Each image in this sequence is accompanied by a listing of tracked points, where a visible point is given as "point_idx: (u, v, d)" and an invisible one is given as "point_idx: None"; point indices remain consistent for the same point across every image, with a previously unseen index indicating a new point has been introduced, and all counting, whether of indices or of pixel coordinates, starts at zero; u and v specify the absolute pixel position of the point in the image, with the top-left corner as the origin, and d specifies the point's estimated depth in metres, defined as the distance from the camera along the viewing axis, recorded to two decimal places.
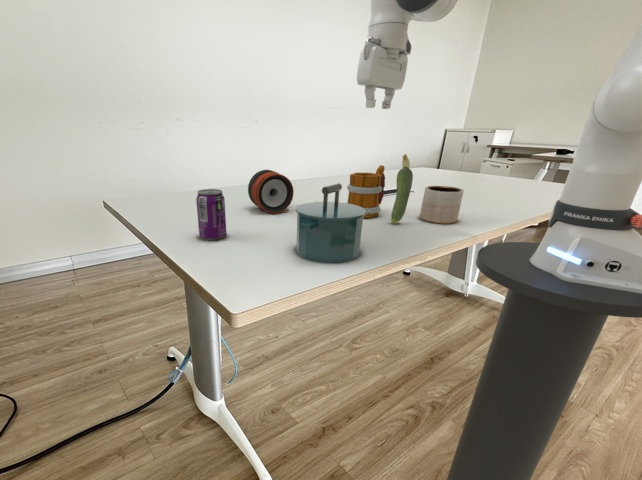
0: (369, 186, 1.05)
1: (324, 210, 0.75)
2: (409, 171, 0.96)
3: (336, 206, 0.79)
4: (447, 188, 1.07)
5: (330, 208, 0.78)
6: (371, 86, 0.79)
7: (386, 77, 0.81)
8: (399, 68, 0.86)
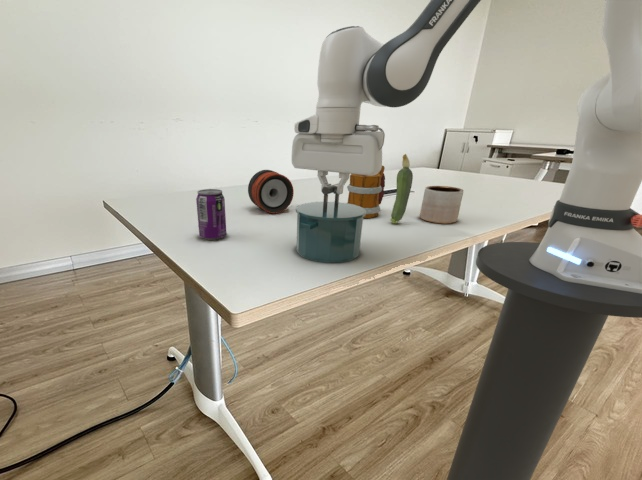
0: (369, 186, 1.05)
1: (324, 210, 0.75)
2: (409, 171, 0.96)
3: (336, 206, 0.79)
4: (447, 188, 1.07)
5: (330, 208, 0.78)
6: None
7: None
8: None
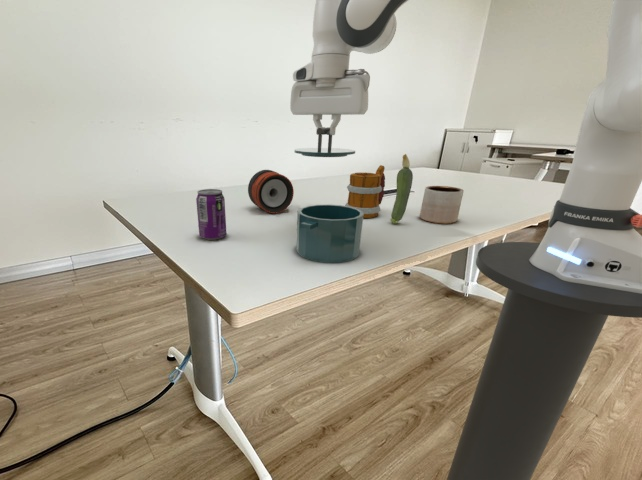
0: (369, 186, 1.05)
1: (319, 149, 0.86)
2: (409, 171, 0.96)
3: (329, 148, 0.90)
4: (447, 188, 1.07)
5: None
6: (339, 115, 0.83)
7: None
8: None
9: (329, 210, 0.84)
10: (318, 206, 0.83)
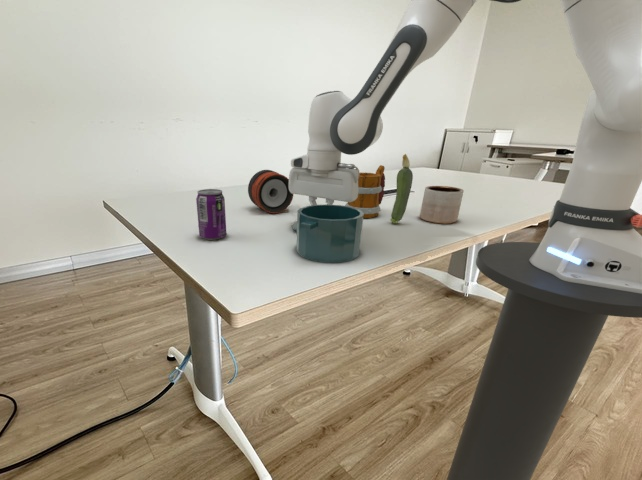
0: (369, 186, 1.05)
1: None
2: (409, 171, 0.96)
3: None
4: (447, 188, 1.07)
5: None
6: None
7: None
8: None
9: (329, 210, 0.84)
10: (318, 206, 0.83)
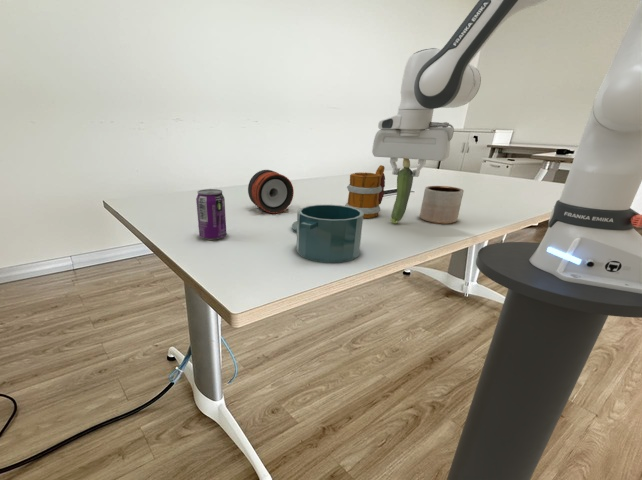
0: (369, 186, 1.05)
1: None
2: (409, 171, 0.95)
3: None
4: (447, 188, 1.07)
5: None
6: (425, 160, 0.93)
7: None
8: None
9: (329, 210, 0.84)
10: (318, 206, 0.83)
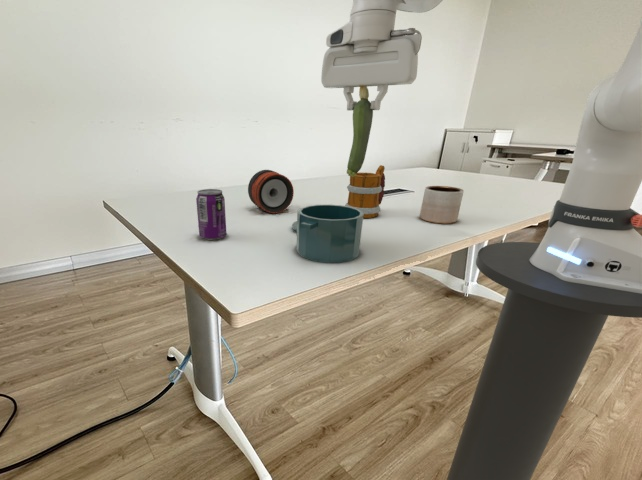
0: (369, 186, 1.05)
1: None
2: (368, 103, 0.73)
3: None
4: (447, 188, 1.07)
5: None
6: (387, 86, 0.71)
7: None
8: None
9: (329, 210, 0.84)
10: (318, 206, 0.83)
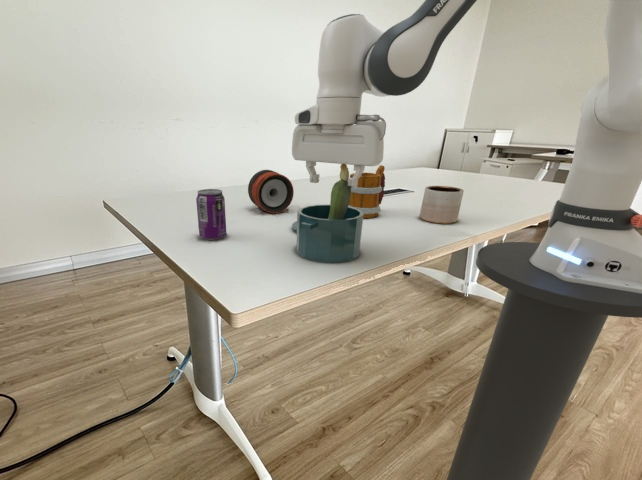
0: (369, 186, 1.05)
1: None
2: (346, 186, 0.73)
3: None
4: (447, 188, 1.07)
5: None
6: (363, 165, 0.70)
7: None
8: None
9: (329, 210, 0.84)
10: (318, 206, 0.83)
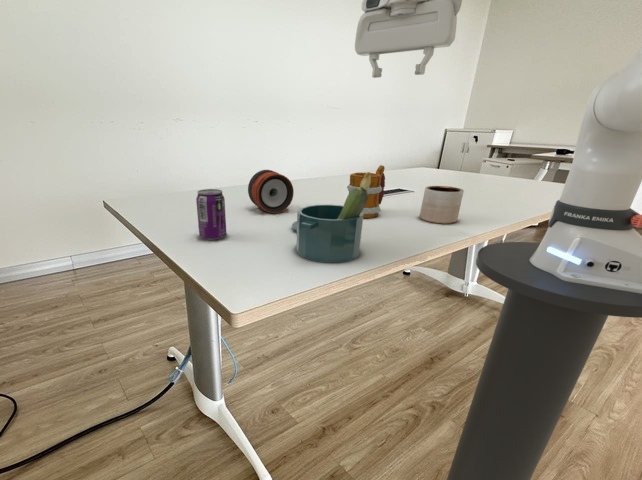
0: (369, 186, 1.05)
1: None
2: (364, 196, 0.71)
3: None
4: (447, 188, 1.07)
5: None
6: (433, 49, 0.69)
7: None
8: None
9: (329, 210, 0.84)
10: (318, 206, 0.83)
